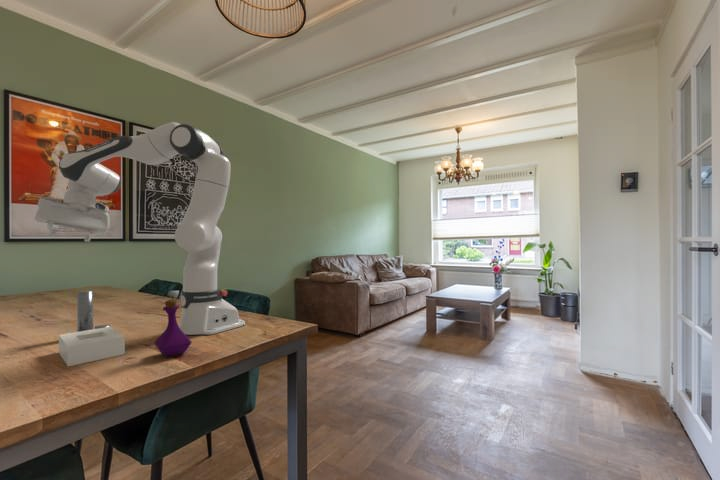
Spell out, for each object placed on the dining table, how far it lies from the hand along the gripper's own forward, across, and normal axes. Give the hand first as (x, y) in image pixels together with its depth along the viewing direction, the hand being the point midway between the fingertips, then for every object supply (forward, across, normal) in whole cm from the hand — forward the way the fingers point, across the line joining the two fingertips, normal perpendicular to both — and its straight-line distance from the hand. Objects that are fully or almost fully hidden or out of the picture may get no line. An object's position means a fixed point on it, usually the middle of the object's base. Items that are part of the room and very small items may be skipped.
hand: (70, 238), depth 115 cm
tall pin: (+34, +10, +1) cm, 35 cm away
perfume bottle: (+46, +24, -36) cm, 63 cm away
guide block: (+42, +9, -19) cm, 47 cm away
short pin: (+36, +13, -7) cm, 39 cm away
